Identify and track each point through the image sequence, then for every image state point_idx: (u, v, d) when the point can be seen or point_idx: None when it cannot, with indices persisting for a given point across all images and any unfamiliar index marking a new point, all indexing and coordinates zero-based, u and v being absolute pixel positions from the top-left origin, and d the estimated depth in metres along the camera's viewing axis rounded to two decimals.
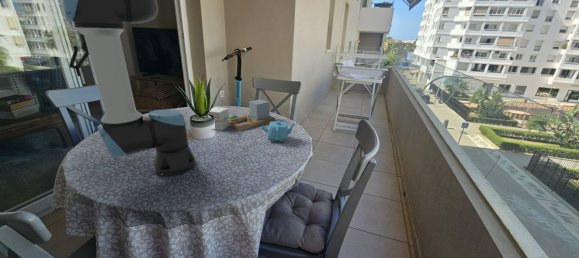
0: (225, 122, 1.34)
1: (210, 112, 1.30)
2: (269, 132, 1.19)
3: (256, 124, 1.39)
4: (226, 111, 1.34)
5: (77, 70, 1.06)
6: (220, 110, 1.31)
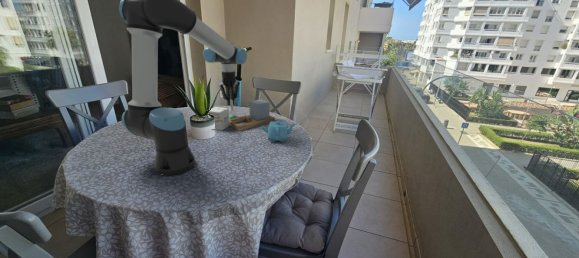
0: (225, 122, 1.34)
1: (210, 112, 1.30)
2: (269, 132, 1.19)
3: (256, 124, 1.39)
4: (226, 111, 1.34)
5: (228, 101, 1.43)
6: (220, 110, 1.31)
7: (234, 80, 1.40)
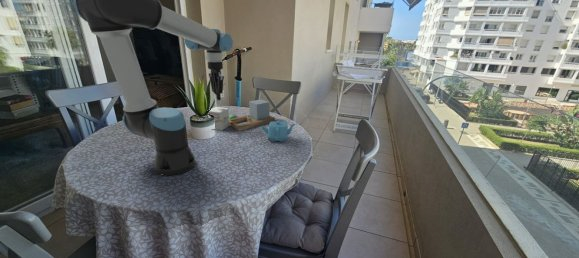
0: (225, 122, 1.34)
1: (210, 112, 1.30)
2: (269, 132, 1.19)
3: (256, 124, 1.39)
4: (226, 111, 1.34)
5: (214, 94, 1.31)
6: (220, 110, 1.31)
7: (216, 72, 1.23)
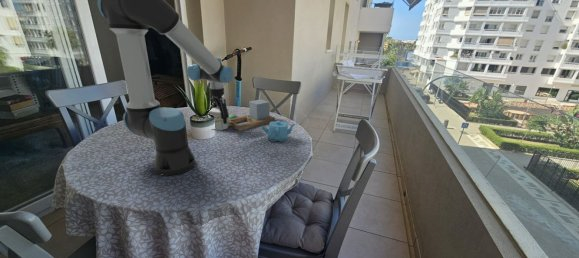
0: None
1: (210, 112, 1.30)
2: (269, 132, 1.19)
3: (256, 124, 1.39)
4: None
5: None
6: None
7: (218, 99, 1.28)
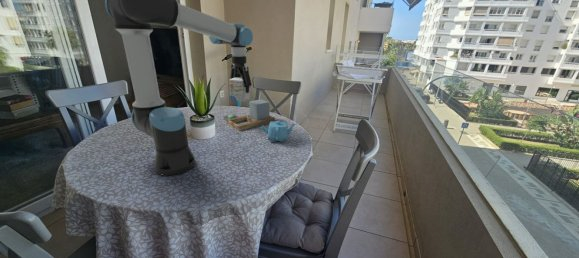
0: None
1: (232, 81, 1.28)
2: (269, 132, 1.19)
3: (256, 124, 1.39)
4: None
5: None
6: None
7: (240, 67, 1.26)
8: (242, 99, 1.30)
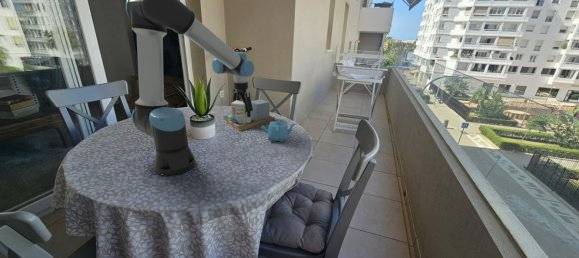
0: None
1: (234, 104, 1.33)
2: (269, 132, 1.19)
3: (256, 124, 1.39)
4: None
5: None
6: None
7: (242, 93, 1.31)
8: (244, 121, 1.35)
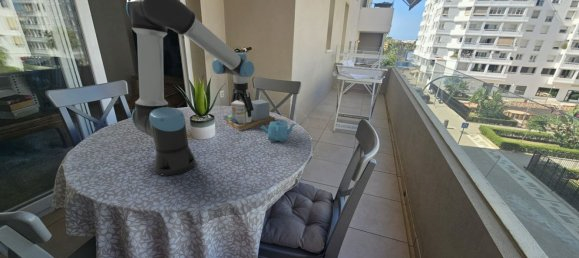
0: None
1: (234, 104, 1.33)
2: (269, 132, 1.19)
3: (256, 124, 1.39)
4: None
5: None
6: None
7: (242, 93, 1.31)
8: (244, 121, 1.35)
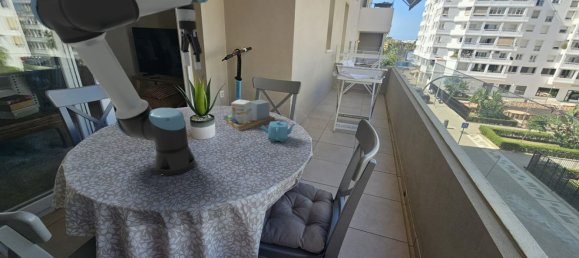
0: (248, 114, 1.37)
1: (234, 104, 1.33)
2: (269, 132, 1.19)
3: (256, 124, 1.39)
4: (249, 103, 1.36)
5: None
6: (244, 102, 1.34)
7: (188, 33, 1.10)
8: (244, 121, 1.35)
